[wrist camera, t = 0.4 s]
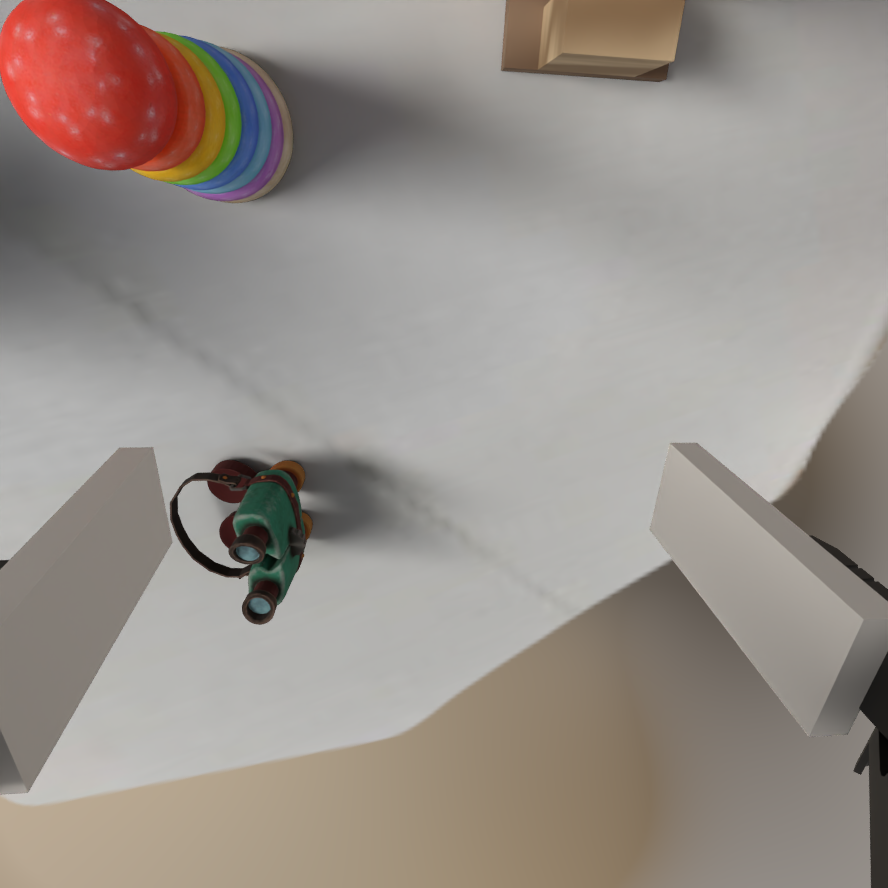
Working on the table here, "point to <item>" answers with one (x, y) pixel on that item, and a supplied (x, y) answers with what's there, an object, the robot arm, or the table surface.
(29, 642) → the robot arm
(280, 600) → the binoculars
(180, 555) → the table surface
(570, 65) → the pipe stand
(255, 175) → the stacking toy
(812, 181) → the table surface
